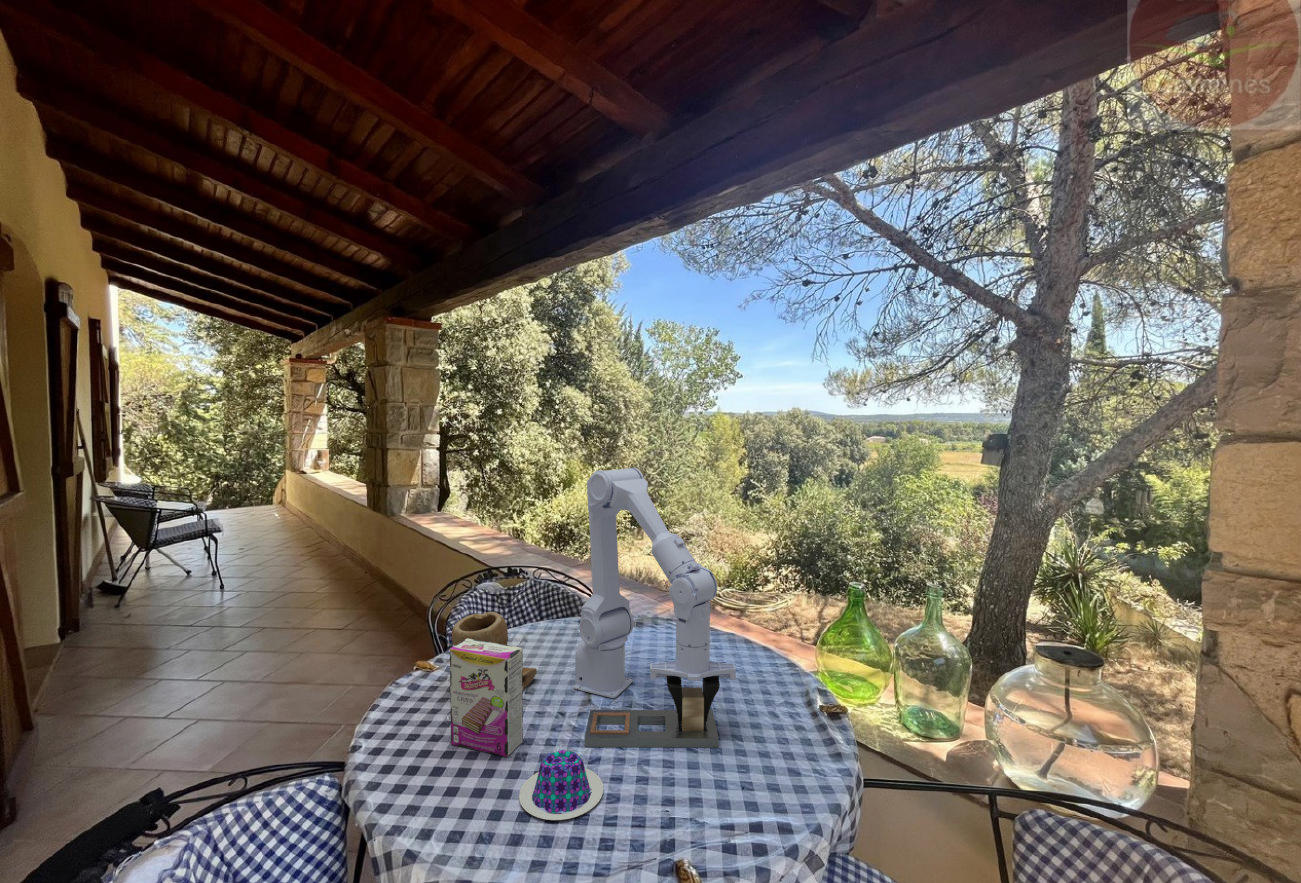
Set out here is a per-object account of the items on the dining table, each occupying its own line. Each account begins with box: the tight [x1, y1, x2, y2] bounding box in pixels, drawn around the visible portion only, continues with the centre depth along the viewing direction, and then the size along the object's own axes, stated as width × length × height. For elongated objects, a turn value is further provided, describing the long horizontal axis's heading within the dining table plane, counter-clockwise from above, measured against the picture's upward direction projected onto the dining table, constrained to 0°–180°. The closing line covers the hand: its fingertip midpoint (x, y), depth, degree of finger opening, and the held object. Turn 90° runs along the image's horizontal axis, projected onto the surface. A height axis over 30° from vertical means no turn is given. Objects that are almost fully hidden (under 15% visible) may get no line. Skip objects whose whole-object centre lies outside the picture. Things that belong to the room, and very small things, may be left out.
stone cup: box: [451, 611, 538, 690], centre depth 114 cm, size 15×12×15 cm
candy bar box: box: [449, 638, 524, 758], centre depth 95 cm, size 11×5×16 cm, turn 71°
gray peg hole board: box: [583, 709, 720, 748], centre depth 99 cm, size 22×9×2 cm, turn 90°
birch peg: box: [680, 686, 705, 731], centre depth 99 cm, size 4×4×7 cm
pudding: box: [518, 749, 604, 821], centre depth 83 cm, size 12×12×5 cm
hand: (692, 718), depth 99 cm, fingers closed on birch peg, 4 cm apart
